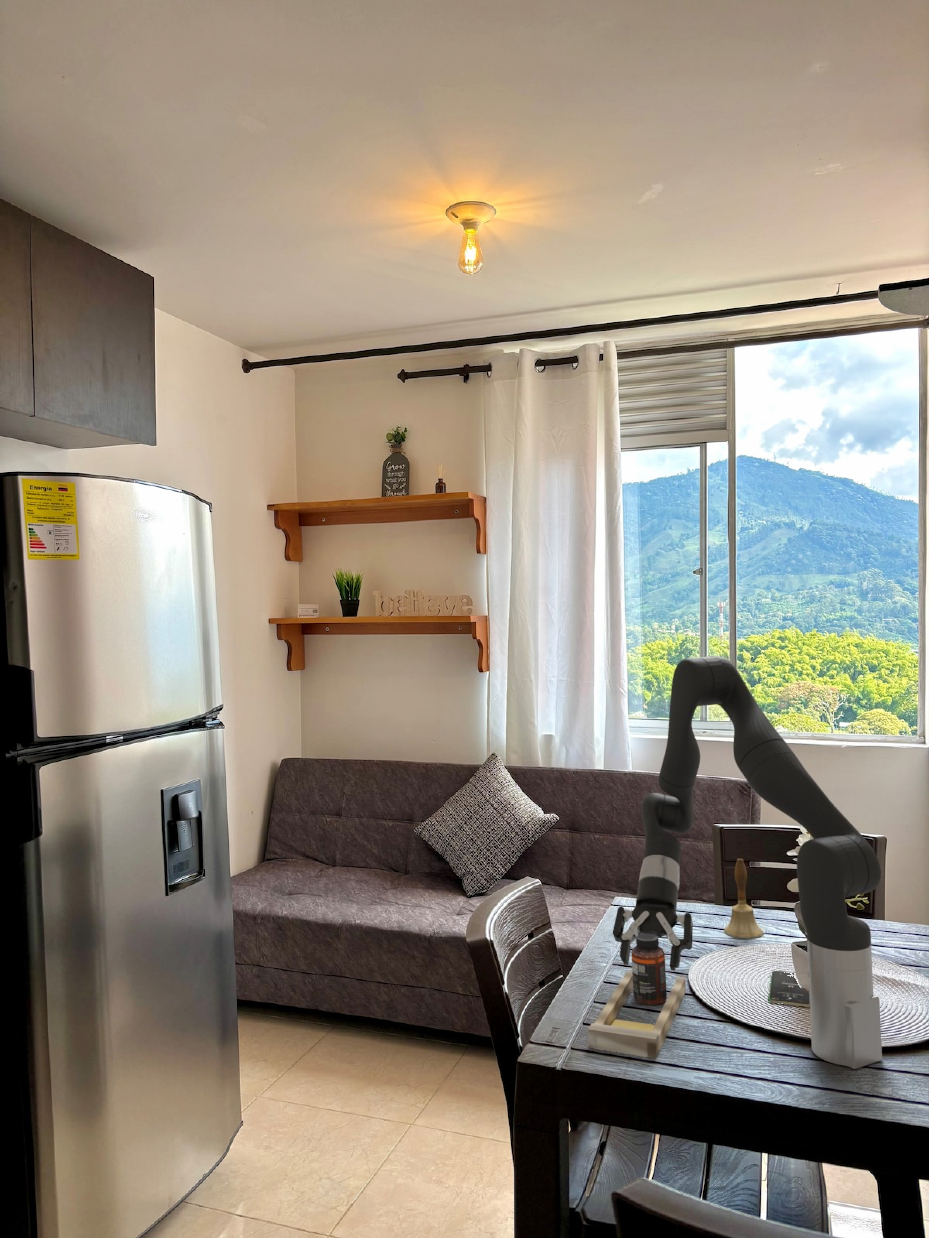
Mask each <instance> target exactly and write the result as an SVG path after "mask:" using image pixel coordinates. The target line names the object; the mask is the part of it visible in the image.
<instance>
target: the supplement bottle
mask: <svg viewBox="0 0 929 1238" xmlns="http://www.w3.org/2000/svg"><path fill="white" fill-rule="evenodd" d="M635 941H636V942H635V944H636V945H635V946H634V947H633V948H632V950H631V971H632V975H633V989H632V993H633V998H634V1000H635V1001H636V1002H637V1003H639V1004H642V1005H646V1006H655V1005H656V1006H657V1005H661V1004H663V1003H664V1002H665V1003H666V1000H667V998H668V997H667V994H668V993H667V991H668V990H667V974H666V955H665V954H666V953H665V950H664V949H663V948H662V947H660V945H659V943H660V942H659V937H658V936H656V935H654V934H649V933H645V934H639V935H637V936H636V940H635Z"/></svg>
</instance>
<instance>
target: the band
mask: <svg viewBox="0 0 929 1238" xmlns="http://www.w3.org/2000/svg"><path fill="white" fill-rule="evenodd" d="M611 1026H616V1027H623V1028H630V1029H637V1030H643V1031H650V1032H652V1030H653V1028H654V1026H655V1024H651V1023H644V1022H638V1021H637V1022H636V1021H629V1020H622V1019H617V1018H615V1019H614V1021H613V1023H612V1024H611Z"/></svg>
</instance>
